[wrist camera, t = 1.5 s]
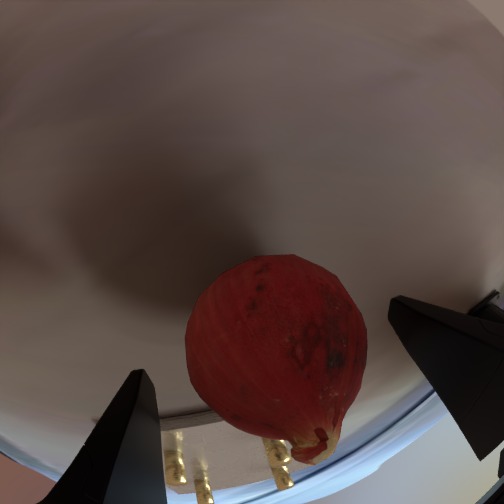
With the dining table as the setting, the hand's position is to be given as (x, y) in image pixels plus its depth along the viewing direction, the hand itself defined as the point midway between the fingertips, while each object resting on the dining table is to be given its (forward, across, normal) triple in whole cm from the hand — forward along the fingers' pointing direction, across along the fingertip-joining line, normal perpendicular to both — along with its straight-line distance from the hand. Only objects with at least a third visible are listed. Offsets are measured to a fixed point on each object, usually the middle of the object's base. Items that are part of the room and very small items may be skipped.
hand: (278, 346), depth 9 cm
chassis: (+4, +4, +15) cm, 16 cm away
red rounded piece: (+4, 0, 0) cm, 4 cm away
